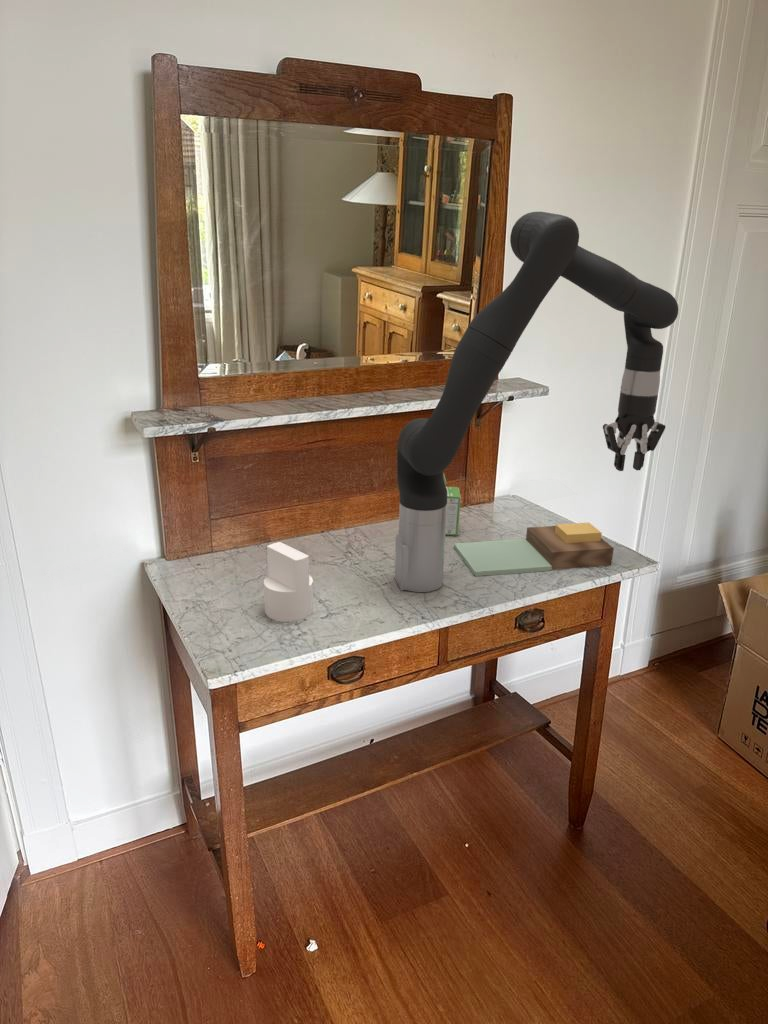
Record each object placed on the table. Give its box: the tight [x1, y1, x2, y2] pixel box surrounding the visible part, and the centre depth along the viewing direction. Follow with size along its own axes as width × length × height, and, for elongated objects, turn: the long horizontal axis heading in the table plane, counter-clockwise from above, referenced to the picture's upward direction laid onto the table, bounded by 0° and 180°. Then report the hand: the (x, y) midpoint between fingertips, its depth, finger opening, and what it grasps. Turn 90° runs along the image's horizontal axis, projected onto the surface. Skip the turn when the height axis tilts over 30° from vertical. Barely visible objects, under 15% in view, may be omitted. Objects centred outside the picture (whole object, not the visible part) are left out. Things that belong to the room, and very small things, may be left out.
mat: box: [453, 538, 553, 577], centre depth 164 cm, size 17×15×1 cm
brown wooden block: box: [525, 525, 614, 570], centre depth 167 cm, size 14×14×4 cm
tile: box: [555, 522, 603, 543], centre depth 166 cm, size 8×6×2 cm
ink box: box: [443, 472, 462, 537], centre depth 177 cm, size 7×4×13 cm, turn 179°
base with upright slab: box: [263, 541, 314, 623], centre depth 139 cm, size 9×9×12 cm
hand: (628, 469), depth 163 cm, fingers open, 3 cm apart
